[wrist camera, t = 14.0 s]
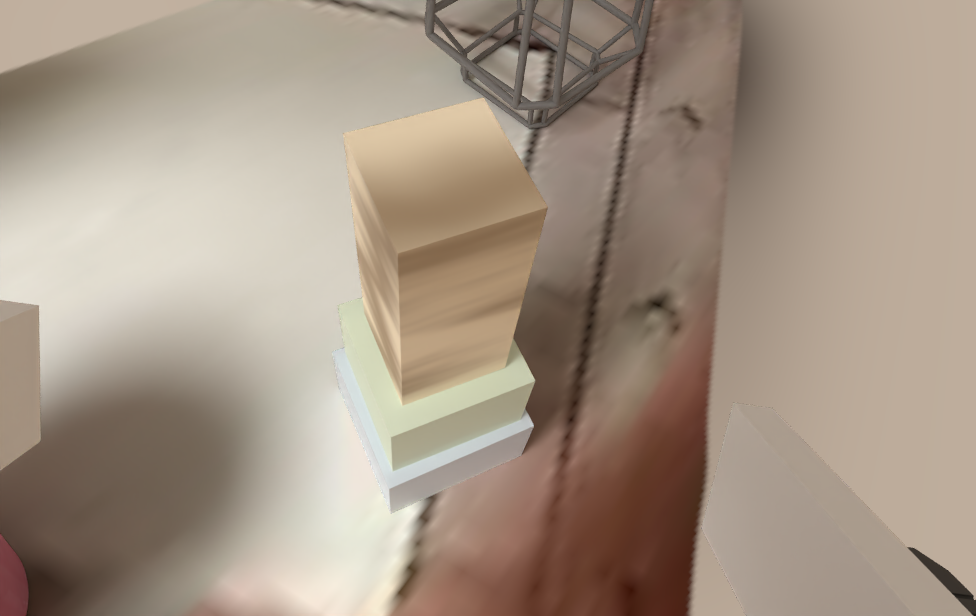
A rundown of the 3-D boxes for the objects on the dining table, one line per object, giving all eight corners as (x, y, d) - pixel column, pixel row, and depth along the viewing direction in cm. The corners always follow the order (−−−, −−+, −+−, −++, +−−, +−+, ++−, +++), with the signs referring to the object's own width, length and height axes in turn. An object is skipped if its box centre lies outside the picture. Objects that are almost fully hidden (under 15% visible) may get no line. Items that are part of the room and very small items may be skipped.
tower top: (345, 352, 38) (337, 305, 34) (465, 310, 40) (473, 260, 36) (392, 471, 35) (391, 437, 31) (520, 420, 37) (535, 380, 33)
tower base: (339, 389, 42) (331, 351, 38) (462, 341, 45) (468, 301, 40) (390, 514, 39) (389, 489, 35) (520, 456, 41) (534, 425, 37)
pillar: (364, 313, 34) (343, 133, 23) (462, 280, 35) (483, 97, 25) (402, 405, 32) (397, 253, 21) (505, 367, 33) (547, 207, 23)
